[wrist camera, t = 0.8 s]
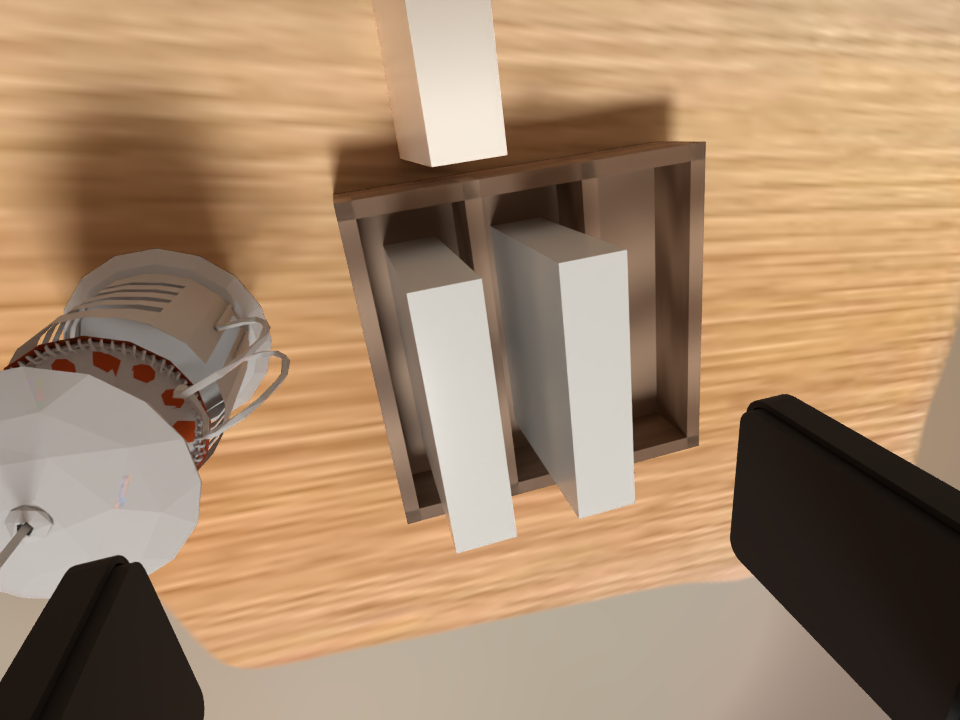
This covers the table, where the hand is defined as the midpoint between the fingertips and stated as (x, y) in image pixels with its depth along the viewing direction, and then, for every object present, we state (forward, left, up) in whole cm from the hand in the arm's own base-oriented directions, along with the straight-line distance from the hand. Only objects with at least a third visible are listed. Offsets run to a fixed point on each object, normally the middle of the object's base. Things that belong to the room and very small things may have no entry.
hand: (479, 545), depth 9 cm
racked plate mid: (+5, +8, -24) cm, 25 cm away
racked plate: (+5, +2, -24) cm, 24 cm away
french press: (+2, -10, -24) cm, 26 cm away
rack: (+5, +8, -24) cm, 25 cm away
